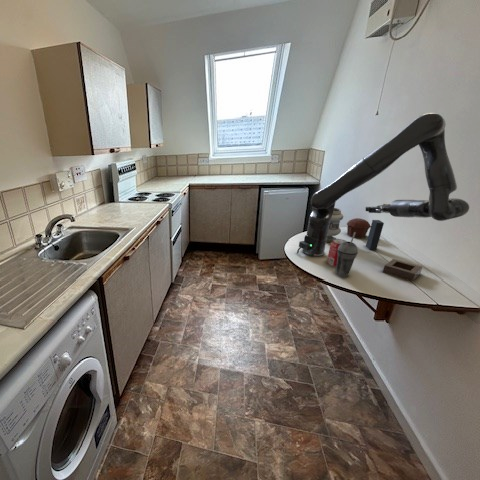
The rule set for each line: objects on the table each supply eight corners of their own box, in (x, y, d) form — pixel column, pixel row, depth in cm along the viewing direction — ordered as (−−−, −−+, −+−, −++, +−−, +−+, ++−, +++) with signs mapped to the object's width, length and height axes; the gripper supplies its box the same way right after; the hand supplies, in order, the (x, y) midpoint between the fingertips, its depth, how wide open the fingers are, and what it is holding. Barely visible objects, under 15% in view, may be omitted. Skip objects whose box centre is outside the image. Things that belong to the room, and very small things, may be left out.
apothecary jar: (310, 236, 160) (315, 207, 154) (329, 234, 161) (335, 205, 154) (323, 243, 149) (329, 212, 142) (343, 242, 150) (350, 211, 143)
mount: (412, 281, 110) (415, 274, 108) (382, 272, 118) (384, 265, 116) (420, 273, 115) (422, 266, 114) (390, 265, 123) (393, 258, 122)
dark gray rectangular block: (369, 249, 139) (377, 222, 134) (365, 246, 144) (372, 219, 138) (376, 250, 138) (384, 223, 133) (371, 246, 143) (379, 220, 137)
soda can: (345, 264, 126) (351, 240, 121) (341, 269, 121) (347, 245, 117) (328, 260, 131) (333, 237, 126) (324, 265, 126) (329, 241, 122)
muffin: (339, 233, 162) (343, 217, 158) (353, 230, 165) (357, 215, 161) (358, 240, 152) (362, 223, 148) (372, 237, 155) (377, 220, 151)
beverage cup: (328, 270, 121) (337, 229, 113) (345, 270, 120) (356, 229, 113) (337, 278, 114) (347, 235, 107) (355, 279, 113) (366, 235, 106)
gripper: (422, 197, 114) (388, 197, 130) (389, 202, 113) (360, 202, 130) (422, 214, 115) (389, 213, 131) (390, 219, 115) (360, 217, 131)
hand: (374, 207), depth 130 cm, fingers open, 8 cm apart
